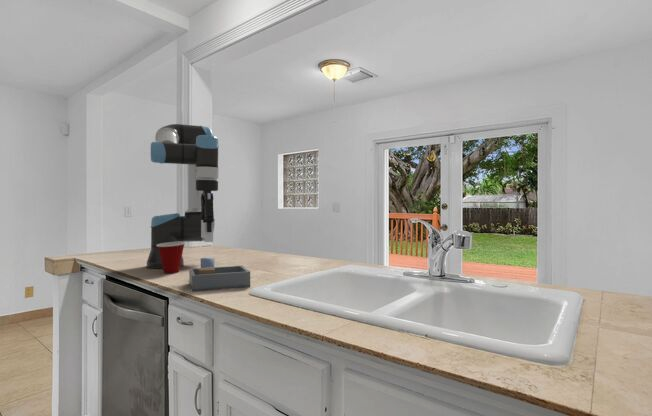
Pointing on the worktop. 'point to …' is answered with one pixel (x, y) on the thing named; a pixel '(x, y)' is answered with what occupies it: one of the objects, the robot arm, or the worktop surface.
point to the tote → (220, 279)
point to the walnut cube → (206, 270)
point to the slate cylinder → (207, 262)
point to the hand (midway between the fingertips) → (206, 239)
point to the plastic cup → (171, 256)
